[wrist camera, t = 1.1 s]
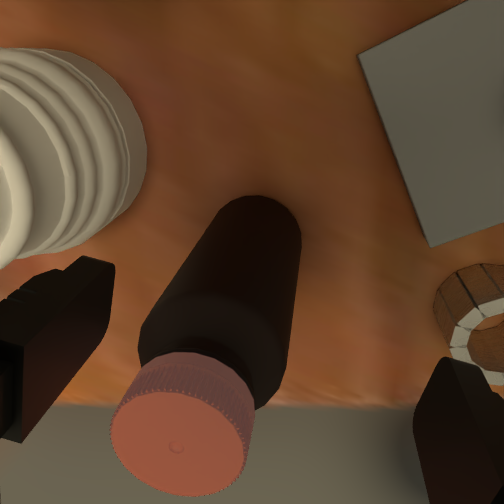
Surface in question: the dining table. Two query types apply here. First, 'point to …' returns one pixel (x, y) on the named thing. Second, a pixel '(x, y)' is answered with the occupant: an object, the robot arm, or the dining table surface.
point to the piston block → (446, 116)
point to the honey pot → (63, 151)
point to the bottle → (212, 352)
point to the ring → (474, 317)
